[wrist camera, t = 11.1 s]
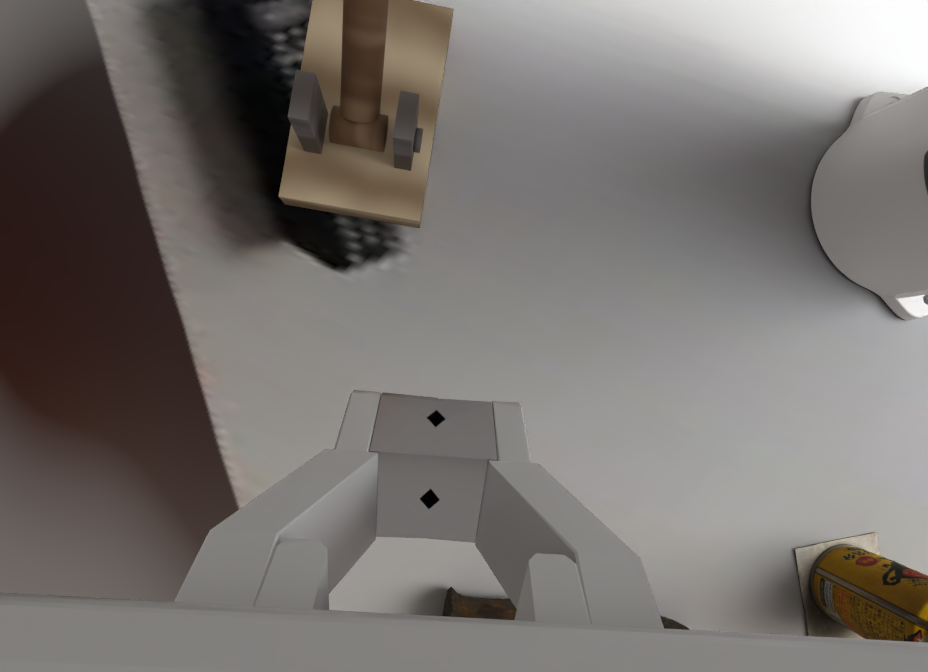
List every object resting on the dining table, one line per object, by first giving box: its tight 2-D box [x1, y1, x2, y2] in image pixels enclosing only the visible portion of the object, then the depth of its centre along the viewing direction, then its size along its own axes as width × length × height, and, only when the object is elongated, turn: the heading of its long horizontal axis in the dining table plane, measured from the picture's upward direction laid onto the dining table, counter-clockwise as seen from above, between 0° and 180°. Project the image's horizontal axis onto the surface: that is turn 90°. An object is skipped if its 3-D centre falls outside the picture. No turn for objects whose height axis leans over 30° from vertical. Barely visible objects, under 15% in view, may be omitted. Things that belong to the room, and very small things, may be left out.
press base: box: [279, 0, 454, 228], centre depth 37 cm, size 16×10×8 cm, turn 171°
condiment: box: [795, 533, 928, 643], centre depth 38 cm, size 7×8×12 cm
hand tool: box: [443, 587, 690, 630], centre depth 39 cm, size 19×4×5 cm, turn 81°
